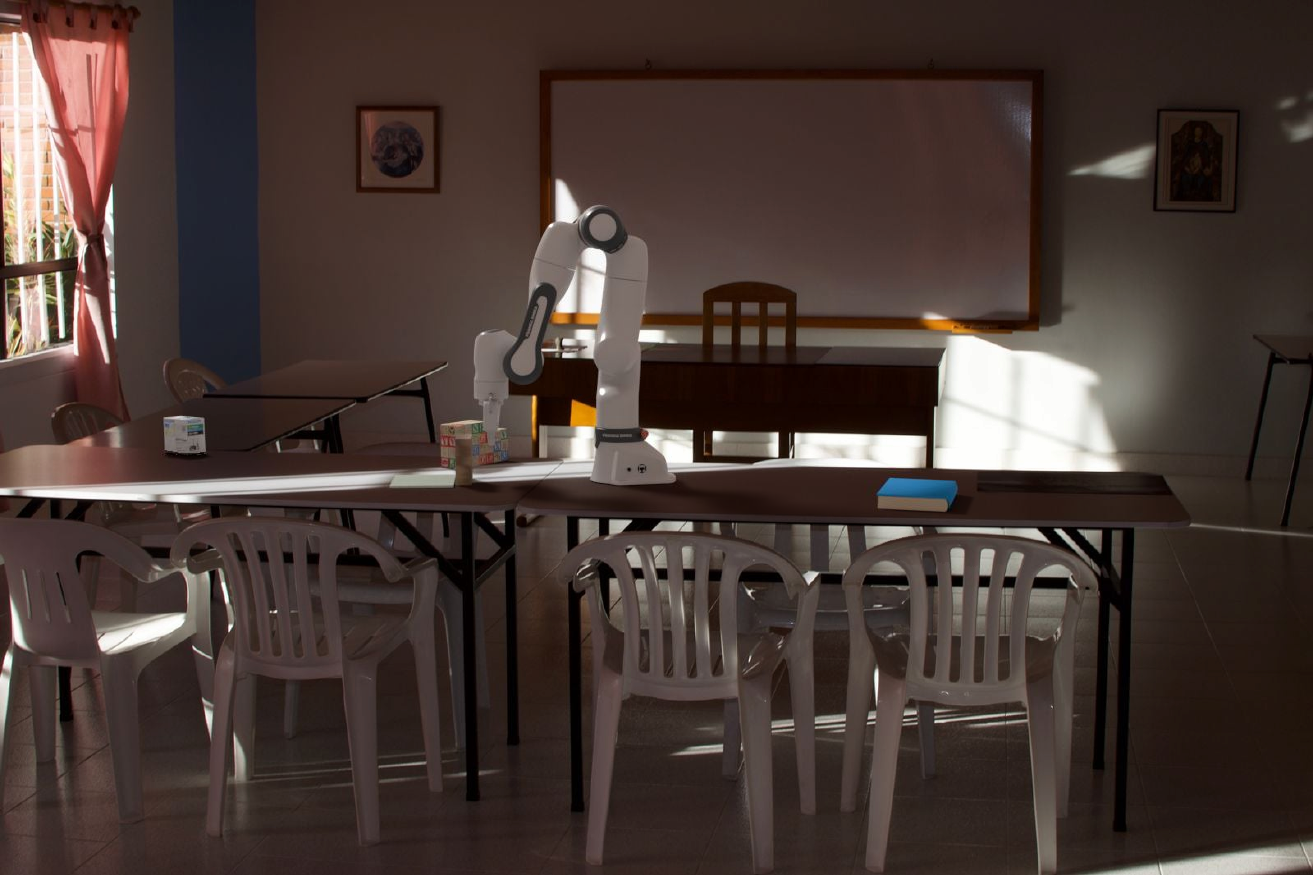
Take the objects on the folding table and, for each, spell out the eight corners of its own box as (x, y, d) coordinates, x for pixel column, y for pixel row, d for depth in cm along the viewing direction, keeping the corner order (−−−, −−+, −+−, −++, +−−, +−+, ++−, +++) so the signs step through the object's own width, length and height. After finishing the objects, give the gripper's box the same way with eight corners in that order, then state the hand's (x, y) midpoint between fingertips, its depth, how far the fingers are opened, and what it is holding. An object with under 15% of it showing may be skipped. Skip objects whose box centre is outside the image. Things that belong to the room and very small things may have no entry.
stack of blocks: (492, 458, 425) (491, 416, 423) (508, 460, 421) (508, 418, 419) (440, 467, 407) (439, 423, 406) (456, 469, 404) (456, 425, 402)
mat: (456, 476, 390) (456, 474, 390) (453, 487, 373) (453, 485, 373) (395, 477, 389) (395, 475, 389) (389, 488, 371) (389, 486, 371)
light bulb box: (206, 453, 432) (205, 417, 431) (188, 456, 427) (187, 419, 425) (182, 451, 438) (180, 415, 437) (163, 453, 432) (162, 417, 431)
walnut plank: (472, 479, 387) (472, 434, 385) (471, 485, 377) (470, 438, 375) (457, 479, 386) (456, 434, 385) (455, 485, 377) (455, 439, 375)
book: (876, 493, 345) (888, 476, 369) (876, 511, 345) (888, 493, 369) (950, 497, 340) (957, 479, 364) (950, 515, 341) (957, 496, 365)
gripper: (503, 395, 369) (503, 450, 371) (503, 388, 390) (504, 439, 391) (477, 395, 369) (478, 450, 371) (479, 388, 389) (480, 439, 391)
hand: (491, 444), depth 381 cm, fingers closed
